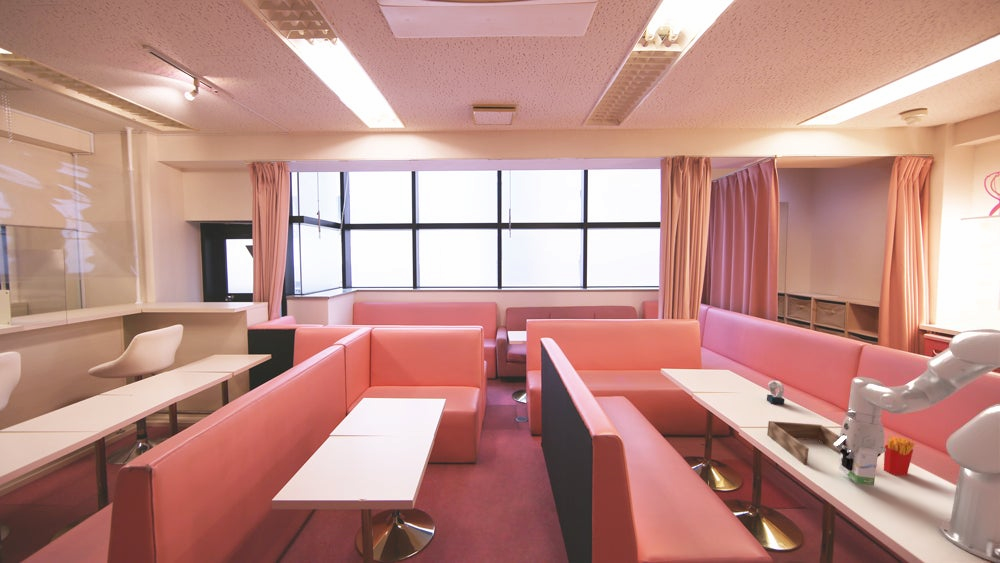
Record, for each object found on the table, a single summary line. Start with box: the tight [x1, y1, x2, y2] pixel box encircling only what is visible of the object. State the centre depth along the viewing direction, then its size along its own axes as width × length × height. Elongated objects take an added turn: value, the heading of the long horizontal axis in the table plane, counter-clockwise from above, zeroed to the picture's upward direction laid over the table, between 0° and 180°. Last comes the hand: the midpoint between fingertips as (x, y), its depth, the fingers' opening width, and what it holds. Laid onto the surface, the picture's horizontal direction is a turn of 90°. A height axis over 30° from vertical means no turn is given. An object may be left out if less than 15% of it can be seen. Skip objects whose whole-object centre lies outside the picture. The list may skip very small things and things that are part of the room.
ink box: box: [838, 445, 879, 487], centre depth 117 cm, size 8×5×12 cm, turn 167°
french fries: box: [883, 436, 915, 476], centre depth 124 cm, size 8×4×12 cm, turn 91°
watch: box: [766, 380, 786, 406], centre depth 179 cm, size 6×8×11 cm
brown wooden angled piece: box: [766, 420, 841, 465], centre depth 136 cm, size 20×20×6 cm
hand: (856, 468), depth 117 cm, fingers closed on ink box, 5 cm apart
